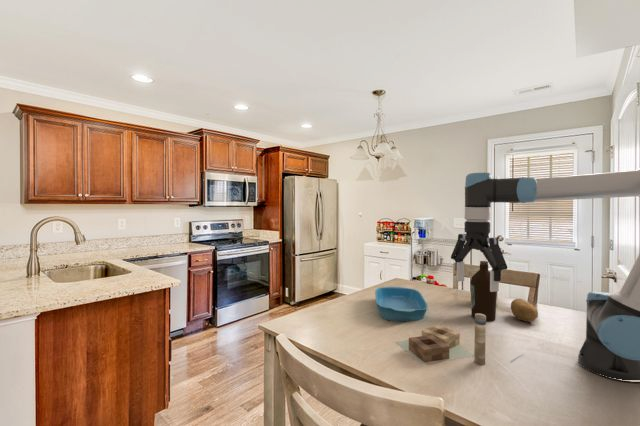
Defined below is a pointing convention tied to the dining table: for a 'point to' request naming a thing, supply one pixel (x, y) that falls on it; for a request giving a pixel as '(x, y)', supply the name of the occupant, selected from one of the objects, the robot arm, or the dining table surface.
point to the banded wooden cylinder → (480, 339)
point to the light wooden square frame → (443, 335)
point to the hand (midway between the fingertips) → (476, 285)
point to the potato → (524, 310)
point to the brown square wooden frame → (428, 348)
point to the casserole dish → (400, 304)
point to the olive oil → (483, 293)
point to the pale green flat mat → (453, 354)
